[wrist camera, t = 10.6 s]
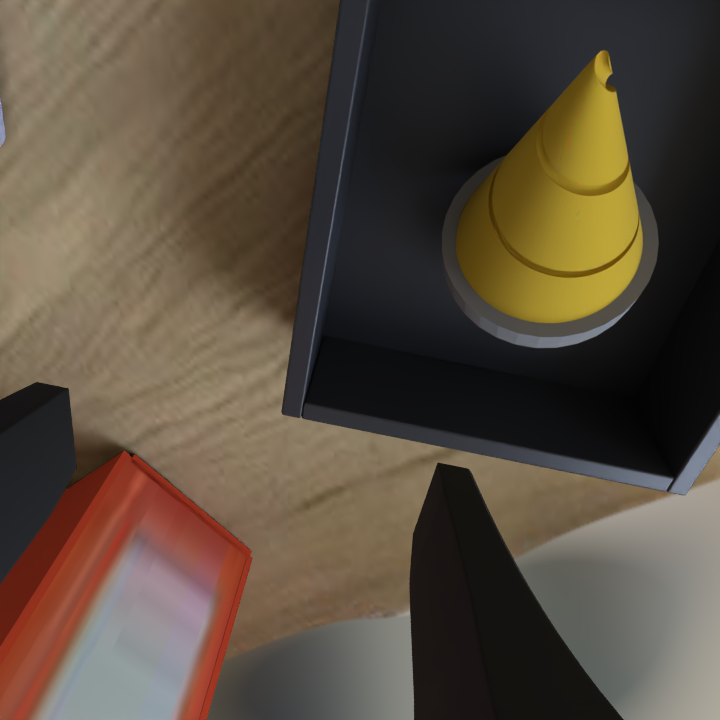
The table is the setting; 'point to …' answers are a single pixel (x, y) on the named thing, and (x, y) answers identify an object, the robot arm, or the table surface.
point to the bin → (431, 203)
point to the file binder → (119, 604)
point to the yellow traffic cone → (554, 226)
